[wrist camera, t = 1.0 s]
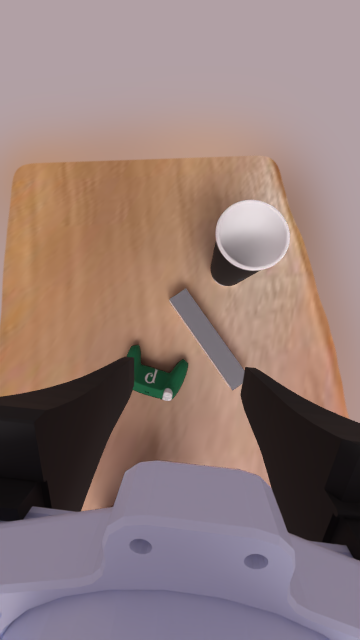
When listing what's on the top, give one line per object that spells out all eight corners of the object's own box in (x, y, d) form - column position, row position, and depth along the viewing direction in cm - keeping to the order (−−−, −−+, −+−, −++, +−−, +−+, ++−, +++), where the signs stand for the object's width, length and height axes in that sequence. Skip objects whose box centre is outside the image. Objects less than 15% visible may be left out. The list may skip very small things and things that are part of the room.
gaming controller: (131, 356, 30) (114, 388, 26) (132, 341, 28) (114, 373, 23) (184, 372, 30) (176, 408, 26) (190, 358, 28) (182, 395, 23)
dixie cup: (208, 243, 31) (226, 190, 20) (254, 256, 30) (297, 209, 20) (196, 288, 30) (207, 258, 19) (243, 301, 30) (282, 278, 19)
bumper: (228, 386, 28) (232, 390, 26) (169, 302, 29) (169, 299, 27) (243, 374, 28) (249, 378, 26) (185, 292, 30) (185, 288, 27)
